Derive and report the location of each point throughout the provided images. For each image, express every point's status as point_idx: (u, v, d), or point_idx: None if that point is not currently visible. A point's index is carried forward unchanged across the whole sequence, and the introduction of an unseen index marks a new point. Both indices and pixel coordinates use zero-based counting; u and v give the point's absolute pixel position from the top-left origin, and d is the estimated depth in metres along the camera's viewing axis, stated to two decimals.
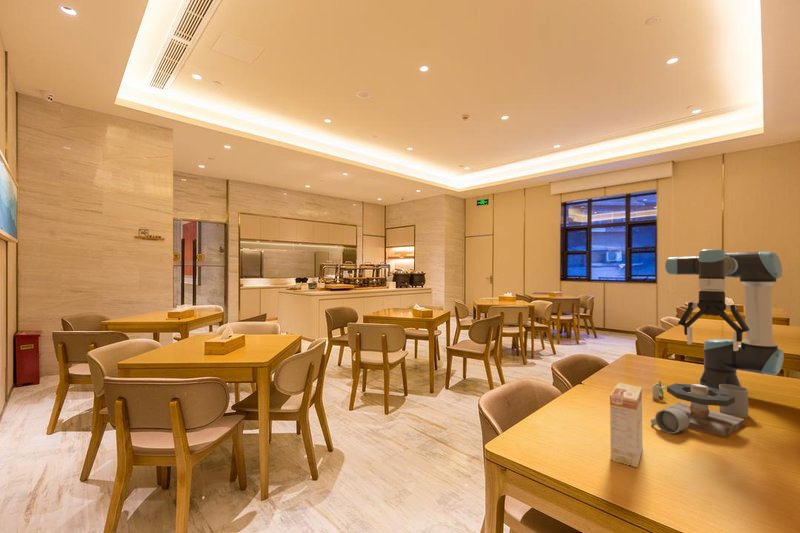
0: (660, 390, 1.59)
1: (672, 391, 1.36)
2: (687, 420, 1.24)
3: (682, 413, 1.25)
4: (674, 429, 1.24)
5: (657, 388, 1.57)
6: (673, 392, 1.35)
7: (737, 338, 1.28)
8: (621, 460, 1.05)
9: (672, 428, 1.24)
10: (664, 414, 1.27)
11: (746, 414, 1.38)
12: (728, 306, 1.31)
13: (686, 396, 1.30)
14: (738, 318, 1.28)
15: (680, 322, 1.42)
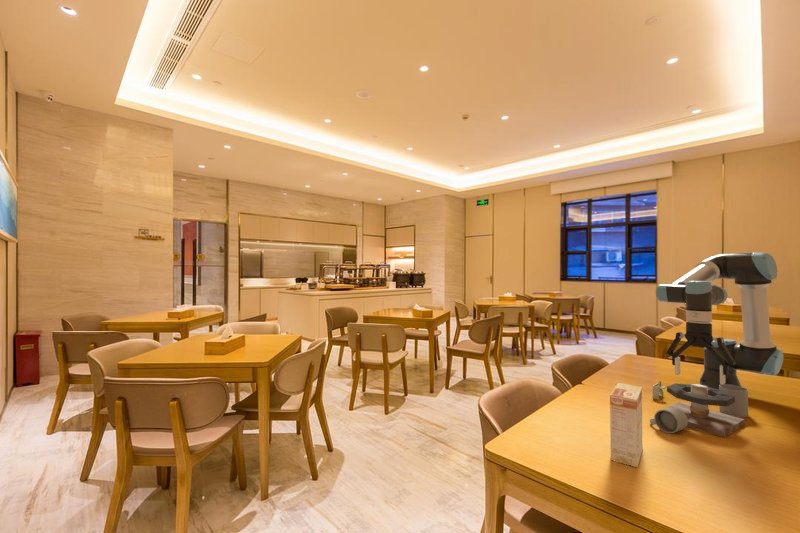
0: (660, 390, 1.59)
1: (672, 391, 1.36)
2: (686, 420, 1.25)
3: (681, 413, 1.26)
4: (673, 429, 1.24)
5: (657, 388, 1.57)
6: (673, 392, 1.35)
7: (724, 371, 1.28)
8: (621, 460, 1.05)
9: (671, 428, 1.25)
10: (663, 414, 1.27)
11: (746, 414, 1.38)
12: (715, 339, 1.30)
13: (686, 396, 1.30)
14: (724, 351, 1.27)
15: (668, 352, 1.42)
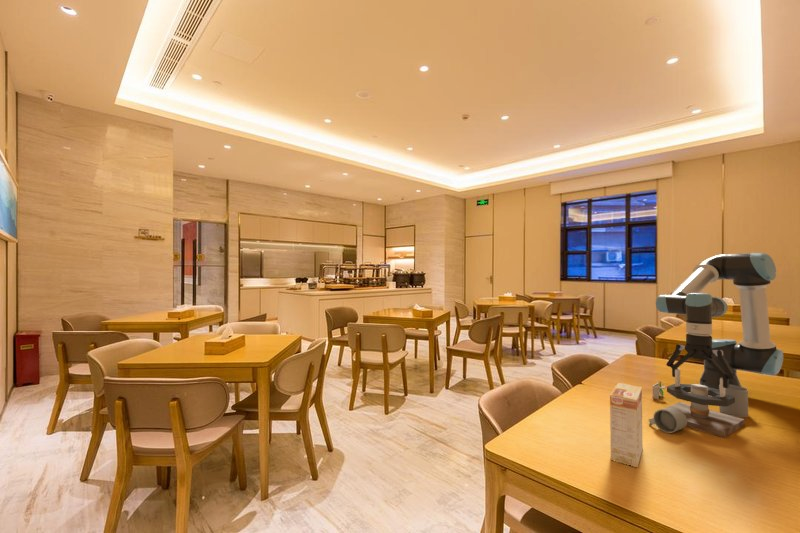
0: (660, 390, 1.59)
1: (672, 391, 1.36)
2: (685, 419, 1.25)
3: (680, 412, 1.26)
4: (672, 428, 1.24)
5: (657, 388, 1.57)
6: (673, 392, 1.35)
7: (724, 384, 1.28)
8: (621, 460, 1.05)
9: (670, 427, 1.25)
10: (662, 413, 1.27)
11: (746, 414, 1.38)
12: (715, 351, 1.30)
13: (686, 396, 1.30)
14: (724, 364, 1.27)
15: (668, 364, 1.42)
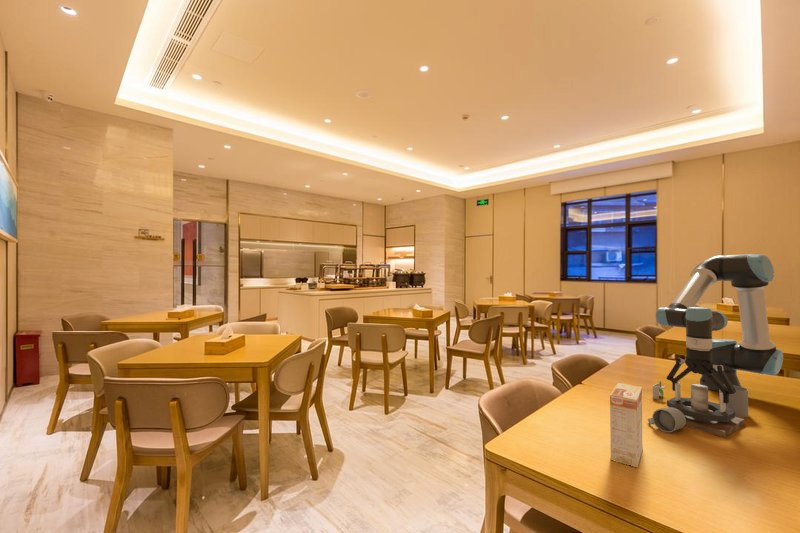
0: (660, 390, 1.59)
1: (672, 405, 1.36)
2: (684, 419, 1.25)
3: (679, 412, 1.26)
4: (671, 428, 1.25)
5: (657, 388, 1.57)
6: (673, 406, 1.35)
7: (724, 399, 1.28)
8: (621, 460, 1.05)
9: (669, 427, 1.25)
10: (661, 413, 1.28)
11: (746, 414, 1.38)
12: (715, 366, 1.30)
13: (686, 411, 1.30)
14: (725, 380, 1.27)
15: (668, 377, 1.42)
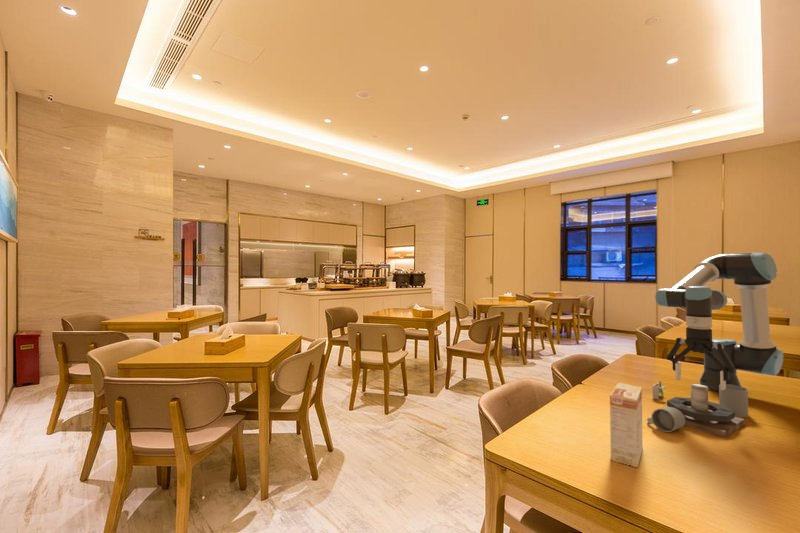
0: (660, 390, 1.59)
1: (672, 405, 1.36)
2: (683, 419, 1.25)
3: (678, 412, 1.26)
4: (670, 427, 1.25)
5: (657, 388, 1.57)
6: (673, 406, 1.35)
7: (724, 377, 1.28)
8: (621, 460, 1.05)
9: (668, 427, 1.26)
10: (660, 413, 1.28)
11: (746, 414, 1.38)
12: (715, 344, 1.30)
13: (686, 411, 1.30)
14: (725, 357, 1.28)
15: (668, 357, 1.42)
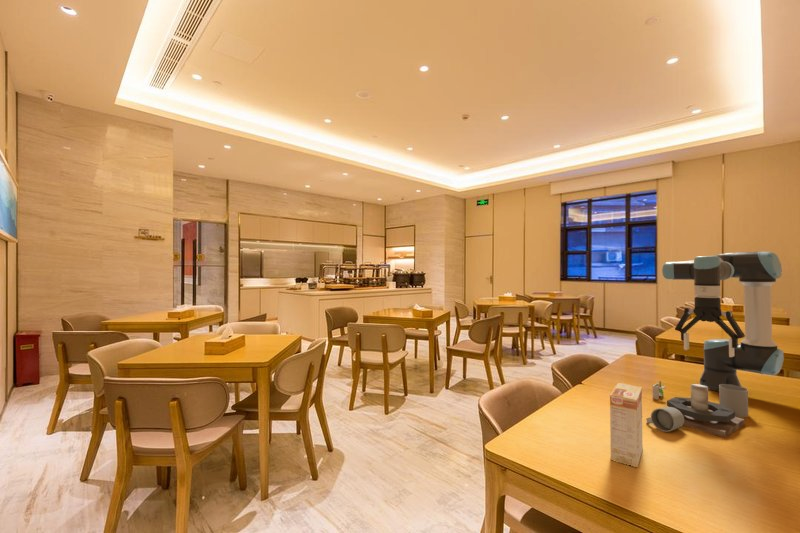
0: (660, 390, 1.59)
1: (672, 405, 1.36)
2: (682, 418, 1.26)
3: (677, 411, 1.27)
4: (669, 427, 1.25)
5: (657, 388, 1.57)
6: (673, 406, 1.35)
7: (733, 344, 1.29)
8: (621, 460, 1.05)
9: (667, 426, 1.26)
10: (659, 412, 1.28)
11: (746, 414, 1.38)
12: (723, 312, 1.31)
13: (686, 411, 1.30)
14: (733, 325, 1.29)
15: (677, 328, 1.43)
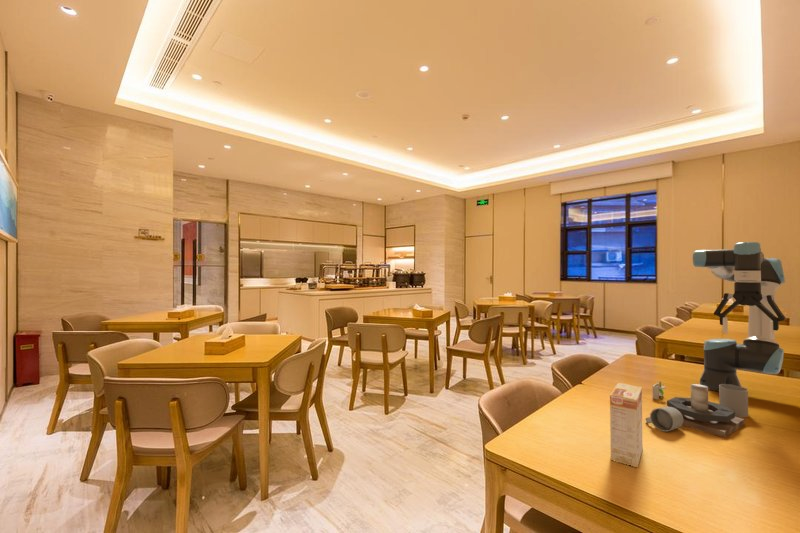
0: (660, 390, 1.59)
1: (672, 405, 1.36)
2: (681, 418, 1.26)
3: (676, 411, 1.27)
4: (668, 427, 1.26)
5: (657, 388, 1.57)
6: (673, 406, 1.35)
7: (774, 327, 1.34)
8: (621, 460, 1.05)
9: (666, 426, 1.26)
10: (659, 412, 1.28)
11: (746, 414, 1.38)
12: (764, 296, 1.36)
13: (686, 411, 1.30)
14: (775, 308, 1.33)
15: (715, 312, 1.48)
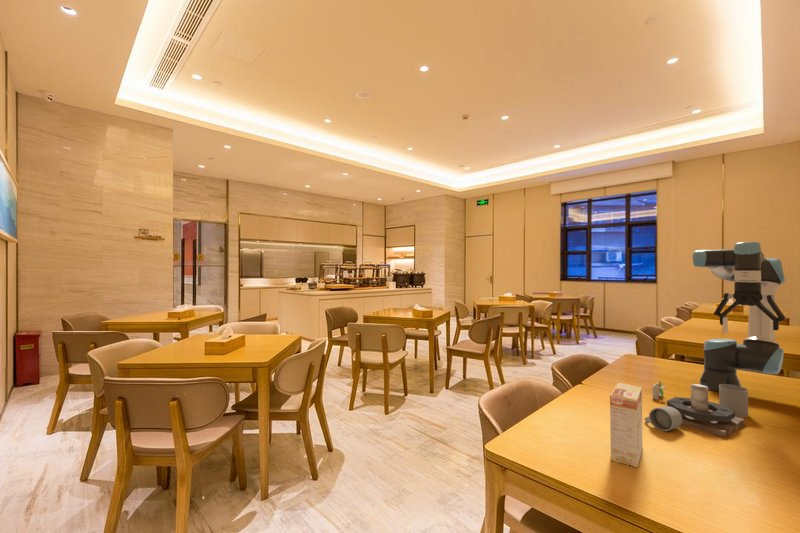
0: (660, 390, 1.59)
1: (672, 405, 1.36)
2: (680, 418, 1.26)
3: (675, 411, 1.27)
4: (667, 427, 1.26)
5: (657, 388, 1.57)
6: (673, 406, 1.35)
7: (774, 327, 1.34)
8: (621, 460, 1.05)
9: (665, 426, 1.26)
10: (658, 412, 1.29)
11: (746, 414, 1.38)
12: (764, 296, 1.36)
13: (686, 411, 1.30)
14: (775, 308, 1.33)
15: (715, 312, 1.48)
